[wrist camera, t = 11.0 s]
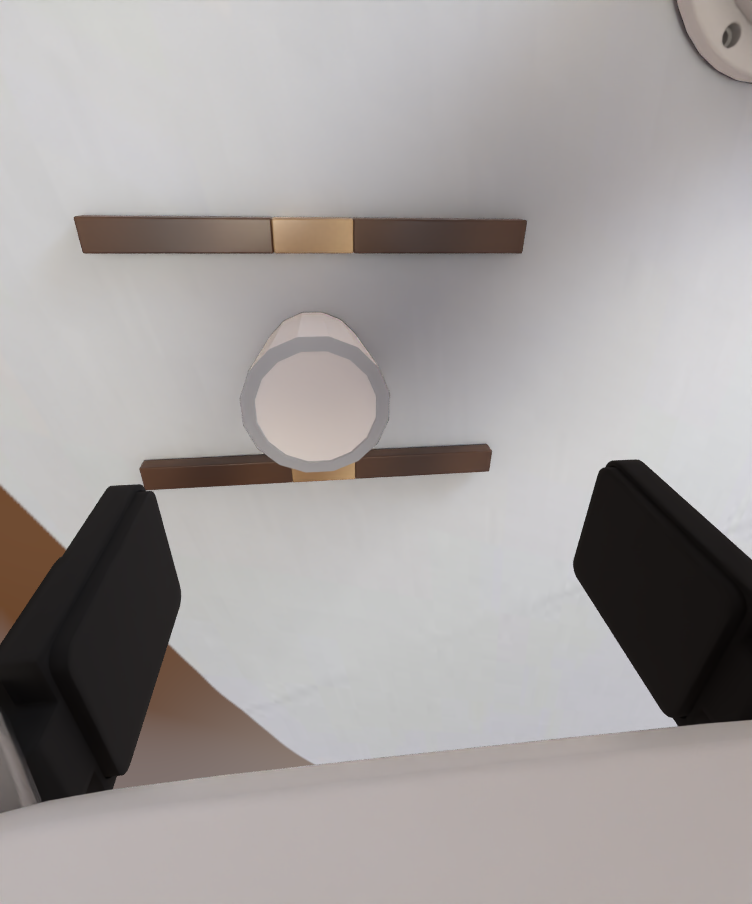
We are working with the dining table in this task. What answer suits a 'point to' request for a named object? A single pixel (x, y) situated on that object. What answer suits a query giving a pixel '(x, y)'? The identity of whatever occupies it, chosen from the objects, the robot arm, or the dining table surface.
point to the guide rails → (302, 238)
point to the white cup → (314, 396)
